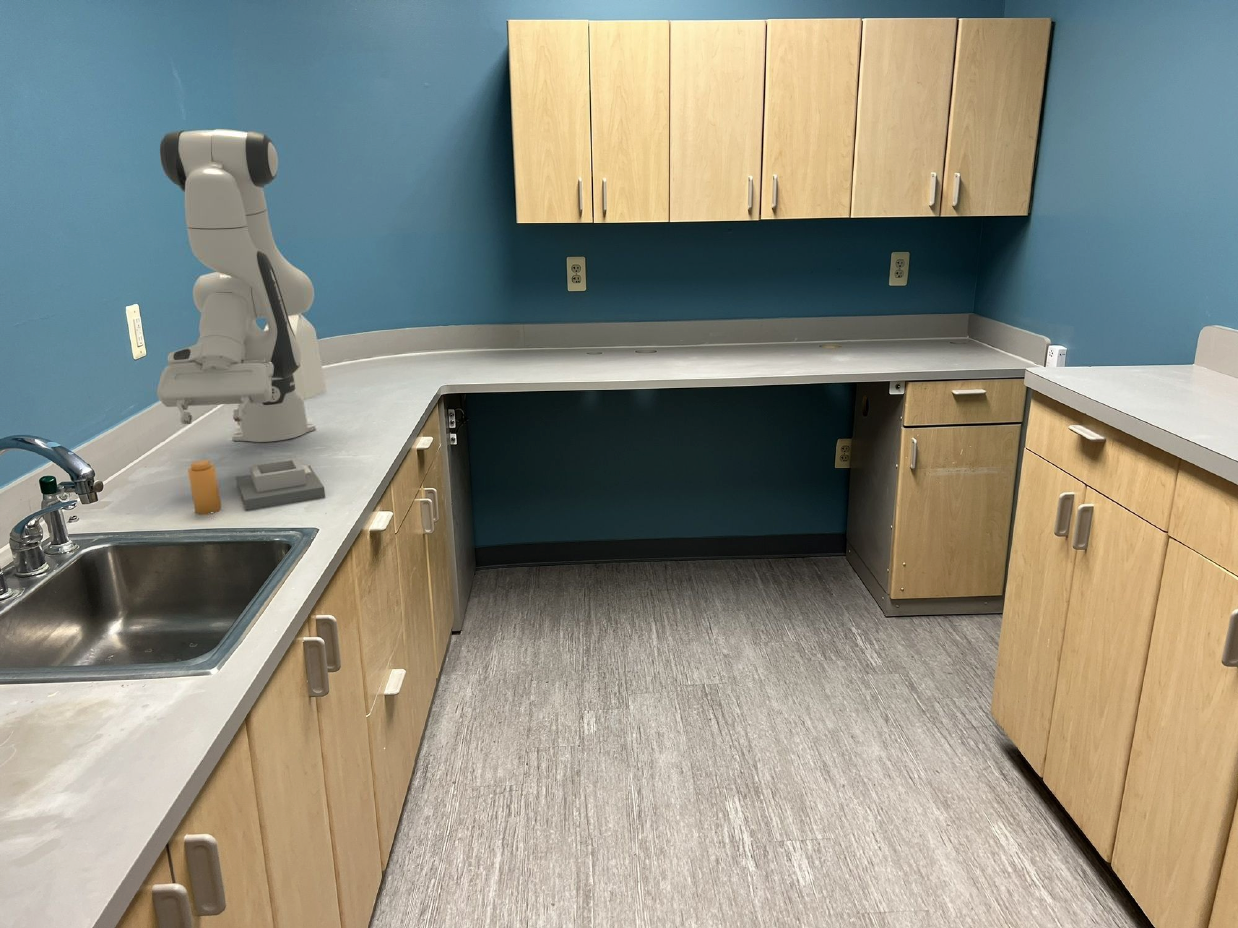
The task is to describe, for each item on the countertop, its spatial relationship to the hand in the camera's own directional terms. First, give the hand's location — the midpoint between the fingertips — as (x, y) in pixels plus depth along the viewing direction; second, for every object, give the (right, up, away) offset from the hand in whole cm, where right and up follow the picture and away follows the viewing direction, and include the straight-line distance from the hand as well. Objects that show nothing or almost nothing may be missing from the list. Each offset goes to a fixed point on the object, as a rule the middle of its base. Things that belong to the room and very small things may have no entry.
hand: (212, 421), depth 163 cm
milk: (-17, +12, +88) cm, 91 cm away
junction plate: (+11, -13, +4) cm, 18 cm away
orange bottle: (+2, -17, -5) cm, 17 cm away
